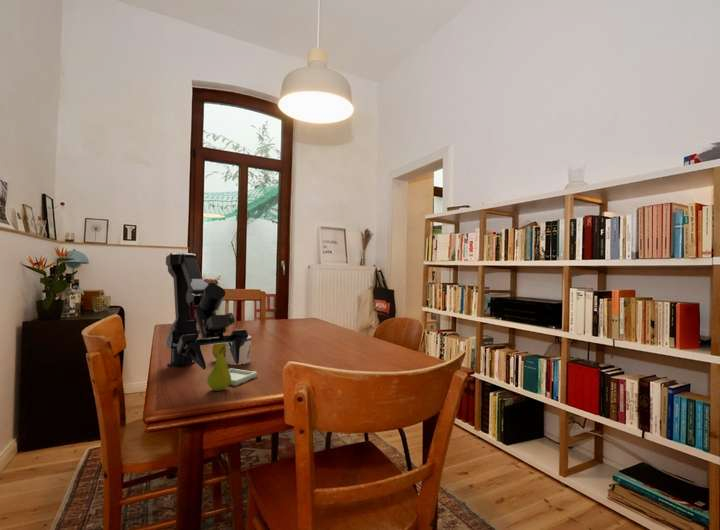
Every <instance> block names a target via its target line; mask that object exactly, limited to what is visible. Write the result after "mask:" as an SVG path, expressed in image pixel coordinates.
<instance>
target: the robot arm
mask: <svg viewBox="0 0 720 530" xmlns="http://www.w3.org/2000/svg"><path fill="white" fill-rule="evenodd" d="M165 266H167V272H168V274H169V275H170V276H171V277H172V279H173V292H174V293H173V294H174V311H175V312H174V314H175V319H174V321H173V323H172V325H171V326H170V331H169V334H168V336H167V339H166V347H167V348H168V349H170V362H168V363H166V365H167V366H169V365H171V366H170V367H176V368H184V367H186V366H190V365H194V364H196V365H198V366H199V367H200V368H201V369H202V370H206V369H207V366H206V361H205V357H204V355H203V353H202V349H201V346H205V345H206V346H208V345H212V346H213V345H214V344H220V343H229V346H230V347H231V348H230V351H231V354H232V356H233V359H234V361H235V363H236V364H238V363H239V352H240V347H241V346H243V345H244V343H245V341H246V339H247V337H248V336H249V333H248V331H247V329H245V328H242V329H233V330H232V332H231V333H230V335H224V334H225V333H226V332H227V327H229V326H231V325H233V324H234V323H235V321H236V320H235V317H234V314H233V312H226V314H217V311H218V310H219V309H220V307H221V305H222V303H223V300H224V298H225V296H226V290H225V289H224V288H222V287H221V286H219V285H218V284H216V282H206V281H205V280H204V279H203V276H202V273H201V270H200V267H199V265H198V262H197V255H196V253H190V252H189V253H187V252H182V253H181V252H170V254H168V255H166V256H165ZM190 307H195V308H194V316H193V317H194V318H192V316H191V308H190ZM197 325H198V329H197ZM199 335H200V336H201V337H199Z"/></svg>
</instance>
